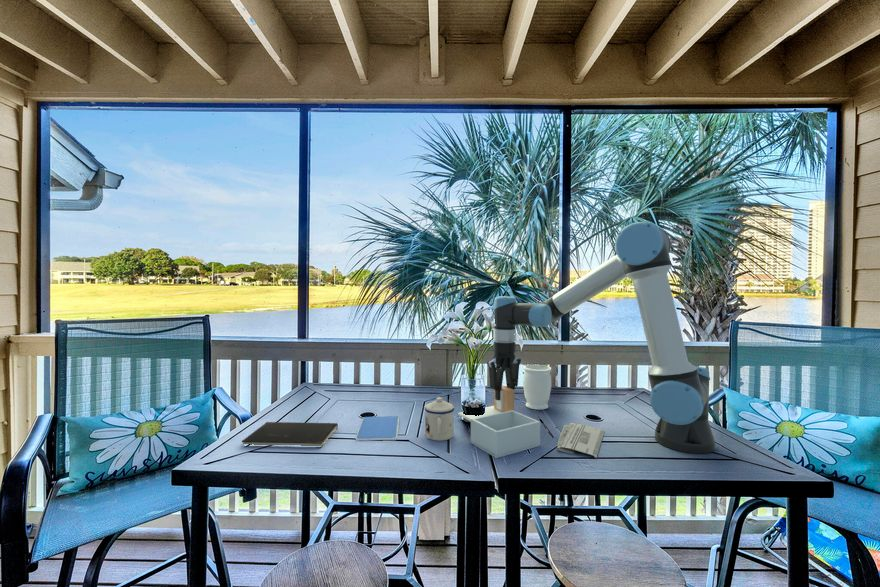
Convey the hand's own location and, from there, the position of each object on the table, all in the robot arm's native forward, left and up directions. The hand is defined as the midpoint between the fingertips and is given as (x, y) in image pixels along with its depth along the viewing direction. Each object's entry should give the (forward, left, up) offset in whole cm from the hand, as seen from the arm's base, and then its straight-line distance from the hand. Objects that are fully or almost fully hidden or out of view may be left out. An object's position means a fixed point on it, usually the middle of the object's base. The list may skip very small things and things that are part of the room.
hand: (503, 408), depth 140 cm
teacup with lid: (-4, +29, -3) cm, 29 cm away
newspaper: (-27, -6, -4) cm, 28 cm away
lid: (0, +7, -2) cm, 7 cm away
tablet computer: (+12, +42, -4) cm, 43 cm away
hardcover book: (+19, +67, -4) cm, 69 cm away
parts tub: (-18, +15, -3) cm, 23 cm away
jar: (+3, -18, -3) cm, 19 cm away
